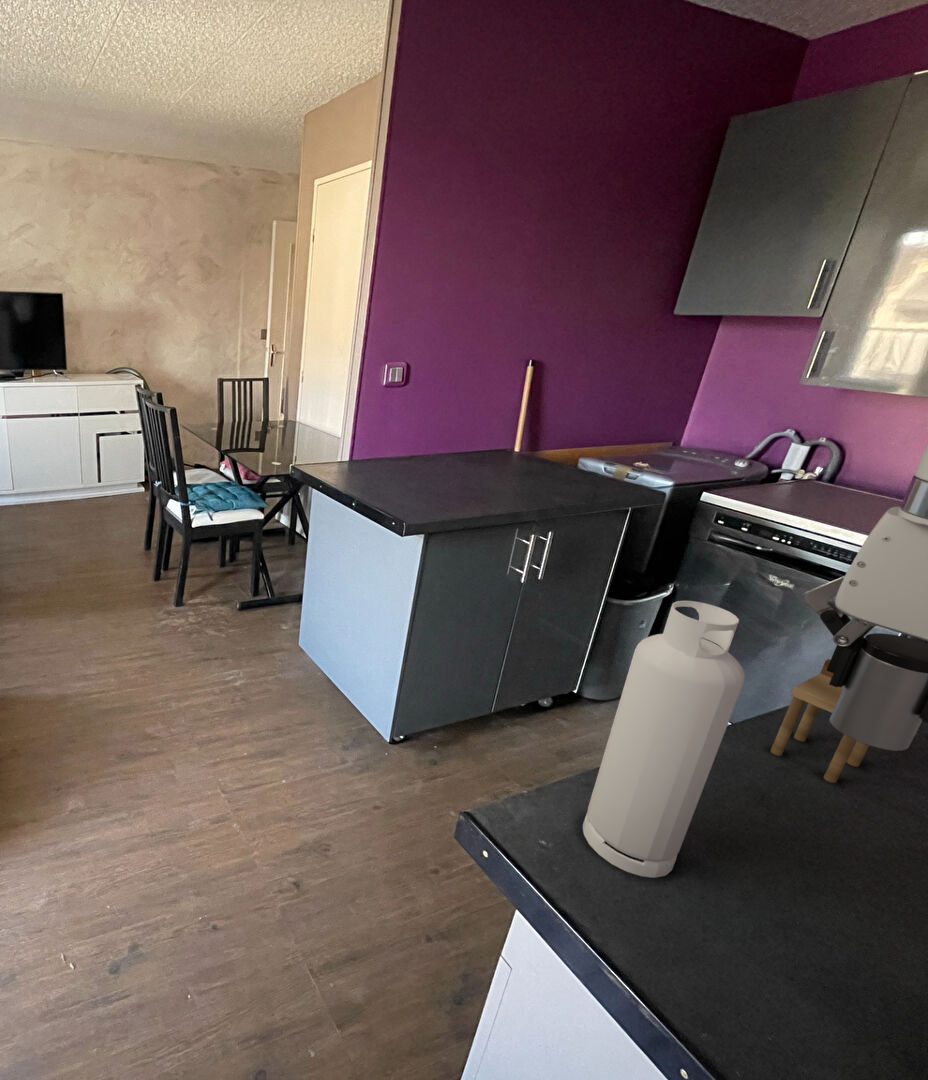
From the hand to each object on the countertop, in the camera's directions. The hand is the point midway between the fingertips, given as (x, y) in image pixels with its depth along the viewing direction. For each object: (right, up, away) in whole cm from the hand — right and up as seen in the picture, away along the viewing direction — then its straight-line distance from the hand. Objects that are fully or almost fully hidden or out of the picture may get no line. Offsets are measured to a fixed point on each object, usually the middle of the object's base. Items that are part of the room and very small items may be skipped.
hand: (884, 697), depth 52 cm
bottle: (-16, -19, +10) cm, 27 cm away
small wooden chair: (+17, -14, +22) cm, 31 cm away
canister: (0, -4, +1) cm, 4 cm away
